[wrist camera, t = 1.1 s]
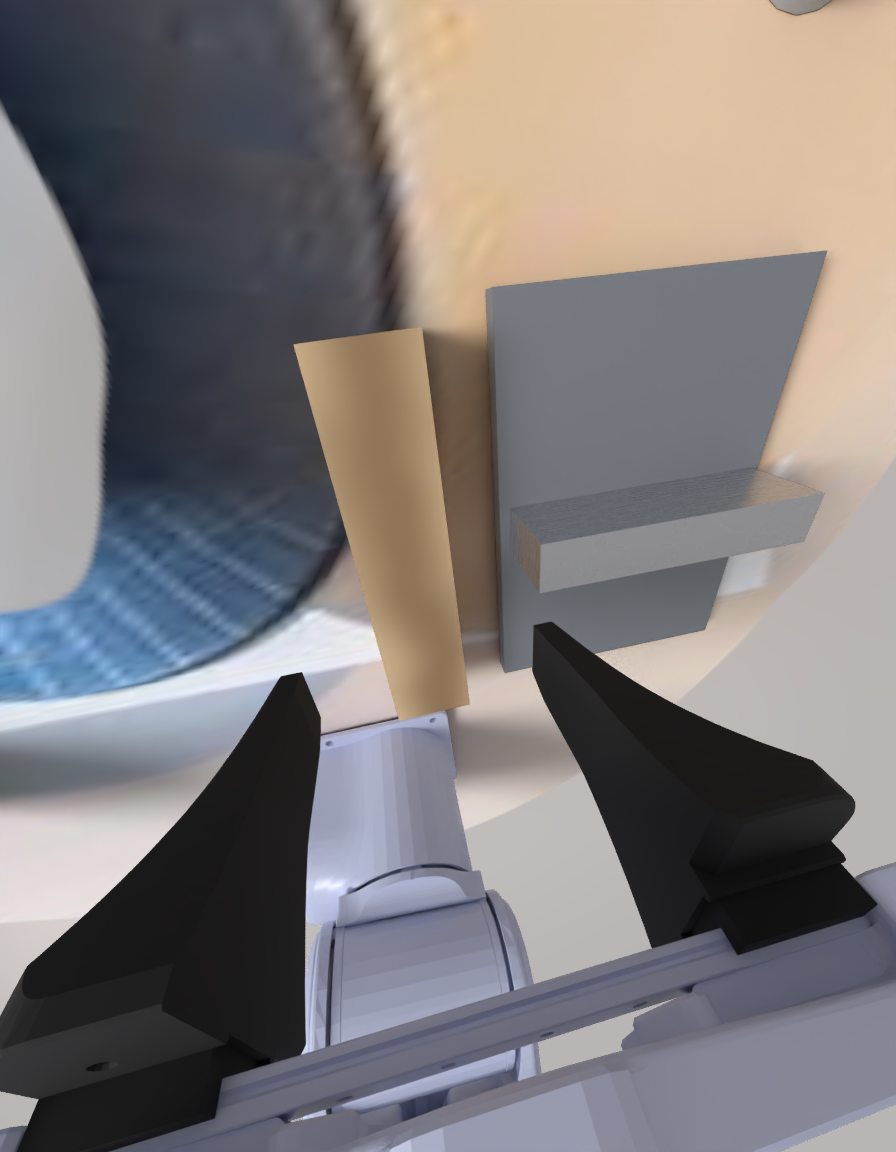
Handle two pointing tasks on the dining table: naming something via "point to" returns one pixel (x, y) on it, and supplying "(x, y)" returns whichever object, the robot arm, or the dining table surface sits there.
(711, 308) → the slate base plate
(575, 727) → the robot arm
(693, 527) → the steel ridge
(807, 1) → the chalice
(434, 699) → the oak bar
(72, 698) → the dining table surface
